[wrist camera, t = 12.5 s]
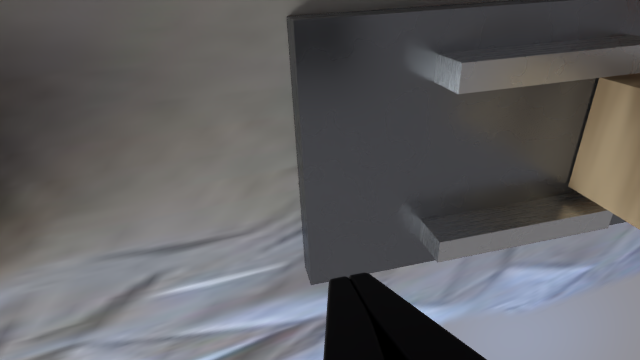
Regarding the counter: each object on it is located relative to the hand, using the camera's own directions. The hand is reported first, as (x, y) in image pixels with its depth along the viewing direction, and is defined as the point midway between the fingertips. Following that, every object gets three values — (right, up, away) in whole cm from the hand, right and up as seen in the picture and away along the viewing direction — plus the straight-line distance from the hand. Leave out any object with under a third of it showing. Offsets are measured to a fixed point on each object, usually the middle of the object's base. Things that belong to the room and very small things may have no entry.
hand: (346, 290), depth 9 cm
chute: (+8, +5, +13) cm, 16 cm away
